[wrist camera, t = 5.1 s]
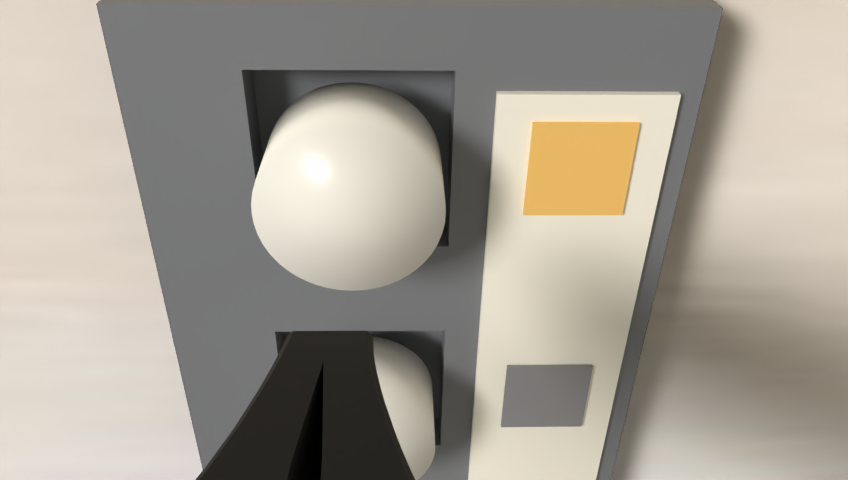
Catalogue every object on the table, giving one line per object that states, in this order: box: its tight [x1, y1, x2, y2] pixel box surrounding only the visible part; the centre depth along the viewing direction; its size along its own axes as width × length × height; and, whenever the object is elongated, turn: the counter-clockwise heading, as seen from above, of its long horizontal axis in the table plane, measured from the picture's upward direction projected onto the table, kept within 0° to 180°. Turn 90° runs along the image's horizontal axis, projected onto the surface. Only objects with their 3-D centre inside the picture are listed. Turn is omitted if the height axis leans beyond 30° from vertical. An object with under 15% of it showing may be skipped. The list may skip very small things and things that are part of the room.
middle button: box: [373, 336, 435, 480], centre depth 22 cm, size 4×4×2 cm
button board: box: [96, 0, 723, 480], centre depth 24 cm, size 24×14×2 cm, turn 179°
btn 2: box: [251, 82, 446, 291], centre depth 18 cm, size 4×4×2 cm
